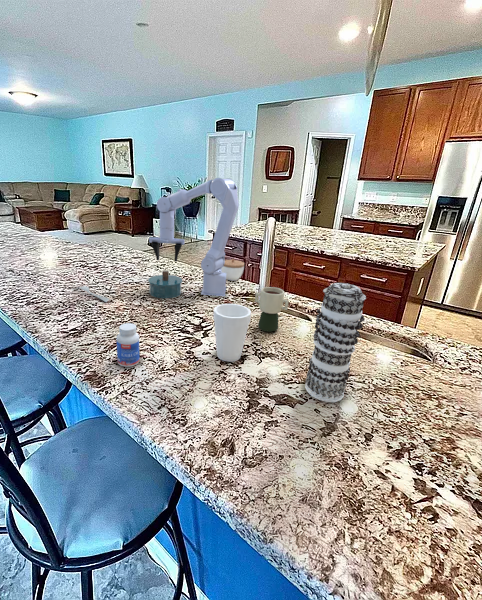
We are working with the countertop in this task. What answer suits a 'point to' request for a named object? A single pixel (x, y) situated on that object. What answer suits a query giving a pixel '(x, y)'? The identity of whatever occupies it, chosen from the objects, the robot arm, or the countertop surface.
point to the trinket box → (233, 269)
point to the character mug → (270, 307)
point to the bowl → (164, 291)
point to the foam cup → (230, 330)
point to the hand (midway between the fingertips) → (166, 260)
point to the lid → (165, 279)
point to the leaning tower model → (334, 341)
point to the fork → (94, 294)
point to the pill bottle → (127, 345)
